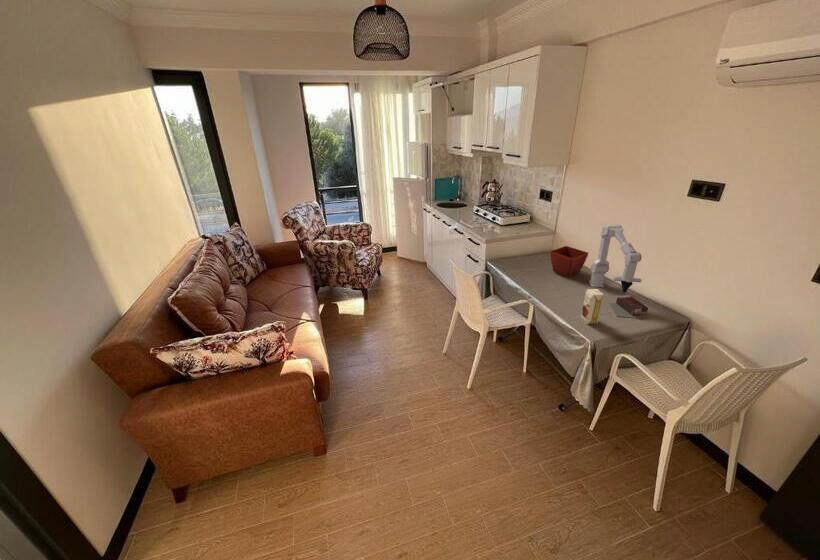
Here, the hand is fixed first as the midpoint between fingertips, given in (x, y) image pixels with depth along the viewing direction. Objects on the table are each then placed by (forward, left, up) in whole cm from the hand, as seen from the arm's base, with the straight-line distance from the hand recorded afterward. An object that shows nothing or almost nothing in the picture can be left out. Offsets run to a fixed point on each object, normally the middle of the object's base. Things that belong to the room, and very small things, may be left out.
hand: (623, 291), depth 201 cm
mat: (+8, 0, -8) cm, 12 cm away
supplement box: (-2, +1, -6) cm, 6 cm away
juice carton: (+24, -23, -9) cm, 34 cm away
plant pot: (-44, -25, -9) cm, 51 cm away
